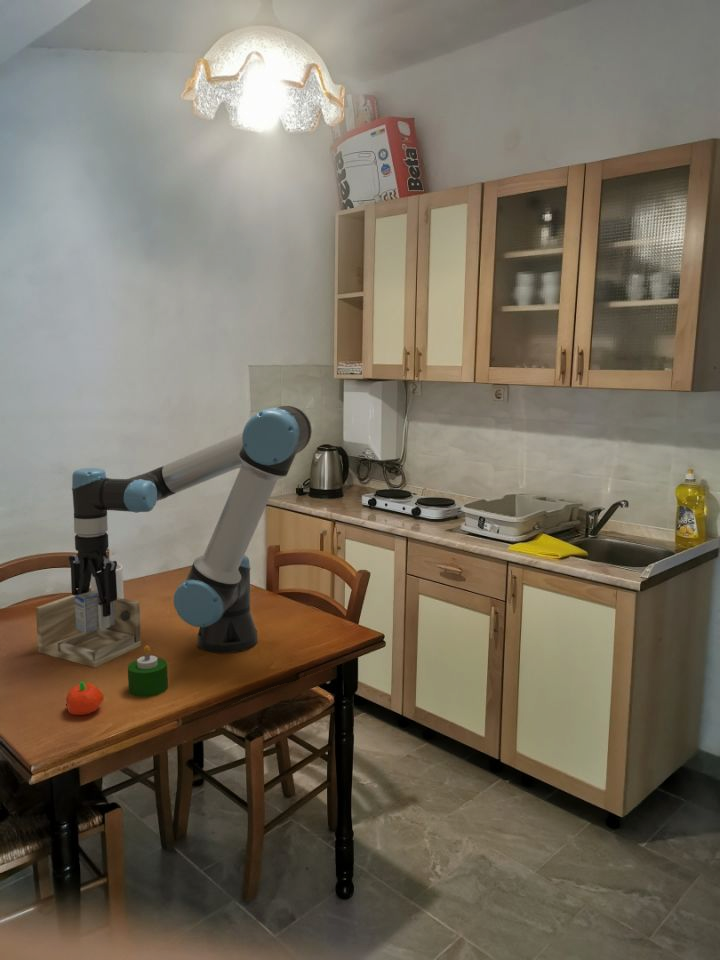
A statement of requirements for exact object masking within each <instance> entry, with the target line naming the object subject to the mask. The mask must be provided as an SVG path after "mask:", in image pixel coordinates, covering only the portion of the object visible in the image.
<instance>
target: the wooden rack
mask: <svg viewBox="0 0 720 960" xmlns="http://www.w3.org/2000/svg"><path fill="white" fill-rule="evenodd" d="M75 596H76V595H74V596H73V595H72V594H71V595H68V596H65V597H62V598H60V599H56V600H53V601H50V602H48V603H47V602H46V603H44V604H42V605H39V606H36V607H35V617H36V618H35V619H36V631H37V633H36V634H37V649H38V651H37V652H38V653H40V654H43V655H46V656H51V657H53V658H58V659H62V660H64V661H65V660H66V661H70V662H73V663H77V664H81V665H84V666H89V667H90V668H91V667H92V668H98V667H100V666H102V665H103V664H106V663H108V662H110V661H112V660H114V659H117V658H119V657H121V656H123V655H125V654H127V653H130V652H131V651H134V650H135V649H137V648H139V647H141V646H142V639H141V638H142V637H141V635H142V634H141V613H140V611H141V609H140V601H136V600H131V599H126V598H124V599H122V598H117V600H115V601H113V602H114V625H111V626H110V627H108V628H106V629H104V630H95V631H92V632H89V633H83V632H81V631H79V630H77V629H76V613H75Z"/></svg>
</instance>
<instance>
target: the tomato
mask: <svg viewBox="0 0 720 960" xmlns="http://www.w3.org/2000/svg"><path fill="white" fill-rule="evenodd" d="M65 699H66V703H65V707H66V708H67V711H68V712H69V714H71V715H74V716H83V715H88V714H92V713H94V712H95V711H97V709H98V708H99V707H100V705H102V703H103V701H104V694H103V692H102V691H101V690H100V689H99V688H98V687H97V686H96V685H94V684H92V683H84V681H82V680H81V681H80V683H79V685H75V686H74V687H72V688H70V689H69V690H68V692H67V695H66V698H65Z"/></svg>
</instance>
